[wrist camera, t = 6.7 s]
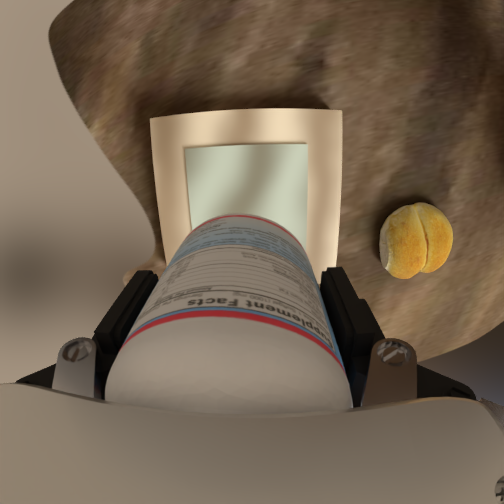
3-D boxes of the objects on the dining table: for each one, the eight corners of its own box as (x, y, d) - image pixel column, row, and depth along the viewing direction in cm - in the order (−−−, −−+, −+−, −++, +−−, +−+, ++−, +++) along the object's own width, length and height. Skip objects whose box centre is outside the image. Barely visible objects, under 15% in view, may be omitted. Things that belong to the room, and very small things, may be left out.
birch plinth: (333, 112, 24) (342, 110, 21) (327, 268, 31) (334, 284, 28) (160, 118, 25) (148, 118, 22) (177, 272, 31) (169, 288, 28)
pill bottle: (269, 341, 15) (274, 561, 5) (160, 294, 14) (65, 513, 4) (334, 246, 13) (452, 503, 3) (208, 183, 12) (26, 445, 2)
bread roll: (441, 261, 31) (458, 277, 27) (378, 276, 31) (391, 294, 28) (444, 195, 27) (465, 205, 24) (376, 205, 28) (392, 217, 24)
